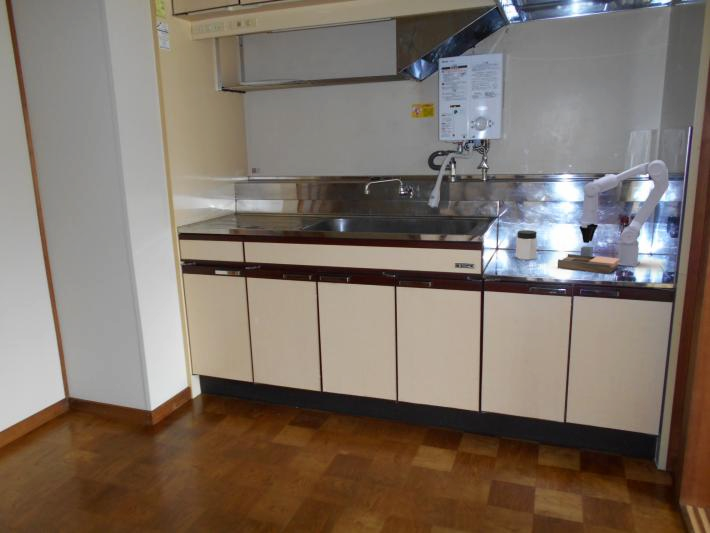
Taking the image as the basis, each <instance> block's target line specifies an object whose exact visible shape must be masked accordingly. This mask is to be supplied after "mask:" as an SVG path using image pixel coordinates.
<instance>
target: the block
mask: <svg viewBox="0 0 710 533" xmlns="http://www.w3.org/2000/svg"><path fill="white" fill-rule="evenodd" d="M593 253H594V247H593V246H586V245H585V246H582V247H580V255H584V256H593V257H594V255H593Z"/></svg>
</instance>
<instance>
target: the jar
mask: <svg viewBox="0 0 710 533" xmlns="http://www.w3.org/2000/svg"><path fill="white" fill-rule="evenodd" d="M516 236H517V237H516V239H515V240H516V242H515V258H516V259H518V260H524V261H525V260H526V261H531V260H536V259H537V248H538V237H537V231H535V230H529V229H528V230H527V229H523V230H518V231H517V235H516Z"/></svg>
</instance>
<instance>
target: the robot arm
mask: <svg viewBox="0 0 710 533" xmlns="http://www.w3.org/2000/svg"><path fill="white" fill-rule="evenodd" d="M638 175H639V176H640V175H642V176H647V175H649V177H650V178H651V180H652V182H653V185H654V187H653V188H652V190H651V192H650V193H649V195H647V198H646V199H645V201H644V202H643V204H642V205H641V207H640V208H639V209H638V212H637V213H636V215H635V216H634V217H633V218H632V220H631V222H630V224H628V226H626V227H625V228H624V229H623V230H622V232H621V233H620V237H619V238H620V241H619V243H618V244H619V245H618V256H617V258H619V259H620V262H619V263H618V266H625V267H626V266H627V267H637V266H638V265H639V264H640V263H641V261H639V260H638V259H639V250H640V249H639V244H640V243H639V241H638V240H637V239H638V237H639V235H640V234H639V233H640V231H641V229H642V228H643V226H644V225H645V223H646V222H647V220H648V219H649V217H650V216H651V214H652V213H653V211H654V210H655V208H656V206H657V205H658V204H659V202H660V201H661V199H662V197H663V196H664V194H665V193H666V192H667V190H668V188H669V187H670V186H669V185H670V184H669V170H668V167H667V165H666V164H665V162H664V161H663V160H661V159H656V160H652V161H650V162H645V163H642V164H638V165H635V166H633V167H631V168H629V169H627V170H625V171H623V172H620V173H618V174H613V173H610V174H609V173H607V174H604V176H602V177H600V178H598V179H596V178H594V179H593V181H590V182H588V183H587V184H585V185H584V186H583V193H584V194H583V195H584V196H583V202H582V203H583V204H582V217H581V218H582V219H579V220H578V222H579V223H581V225H580V226H579V230H580V233H581V236H582V242H583V243H584V244H589V243H590V242H592V241H593V239H594V235H595V232H596V230H597V229H598V226H599V225H598V224H597V223H598V221H597V218H598V205H599V200H598V197H599V193H603V192H606V191H609V190H612V189H614V188H616V187H618V184H619V183H620V182H622V181H625V180H627V179H630V178H633V177H636V176H638Z"/></svg>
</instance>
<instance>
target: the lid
mask: <svg viewBox="0 0 710 533" xmlns="http://www.w3.org/2000/svg"><path fill="white" fill-rule="evenodd" d="M594 257H595V258H593V259H592V260H590V261H589V263H595V264H604V265H610V267H614V266H615V265H617V264H618V263H619V262H620V259H619V258H618V257H609V256H600V255H596V256H594Z"/></svg>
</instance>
